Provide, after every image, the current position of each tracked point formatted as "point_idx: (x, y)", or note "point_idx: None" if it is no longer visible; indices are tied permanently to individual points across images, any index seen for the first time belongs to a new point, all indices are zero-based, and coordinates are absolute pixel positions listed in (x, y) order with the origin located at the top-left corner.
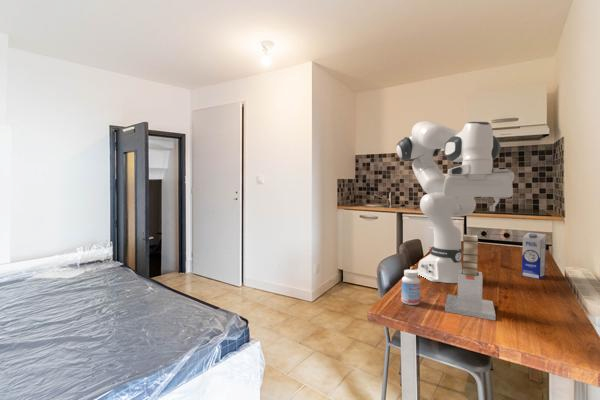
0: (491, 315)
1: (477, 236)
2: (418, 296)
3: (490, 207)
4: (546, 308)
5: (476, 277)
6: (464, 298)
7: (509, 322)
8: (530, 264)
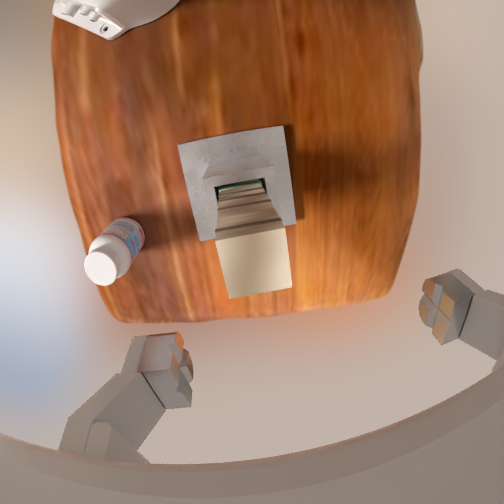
0: (288, 224)
1: (288, 264)
2: (140, 246)
3: (437, 334)
4: (376, 81)
5: None
6: None
7: (316, 212)
8: None
